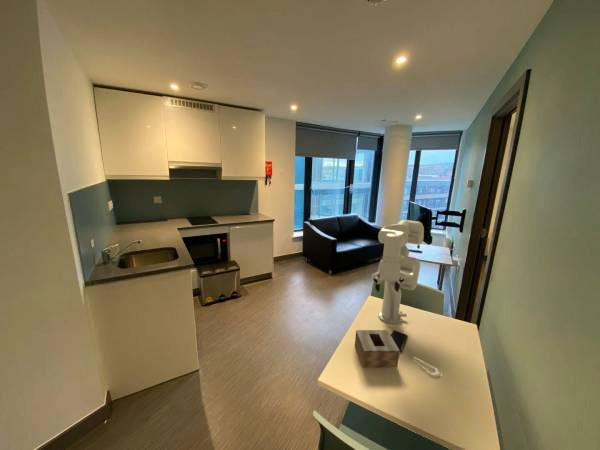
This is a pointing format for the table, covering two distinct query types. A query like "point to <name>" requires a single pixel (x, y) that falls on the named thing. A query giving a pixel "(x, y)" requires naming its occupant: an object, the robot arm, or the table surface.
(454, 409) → the table surface
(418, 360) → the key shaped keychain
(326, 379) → the table surface
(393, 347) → the box
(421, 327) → the table surface
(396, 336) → the phone
